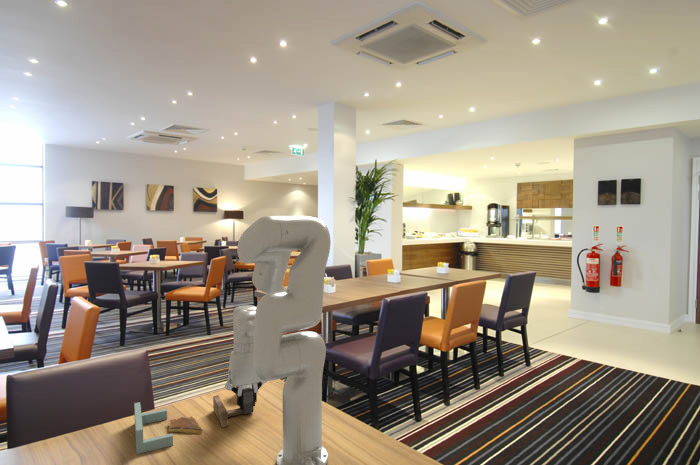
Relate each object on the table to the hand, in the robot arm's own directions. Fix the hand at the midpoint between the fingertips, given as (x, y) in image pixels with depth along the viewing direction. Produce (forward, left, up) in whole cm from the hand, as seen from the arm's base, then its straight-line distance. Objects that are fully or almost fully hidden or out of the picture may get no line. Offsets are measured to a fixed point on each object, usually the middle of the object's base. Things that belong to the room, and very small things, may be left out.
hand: (246, 405), depth 126 cm
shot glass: (+14, -3, -2) cm, 15 cm away
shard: (0, +17, -3) cm, 17 cm away
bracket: (0, +26, -2) cm, 26 cm away
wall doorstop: (0, +4, -2) cm, 4 cm away
